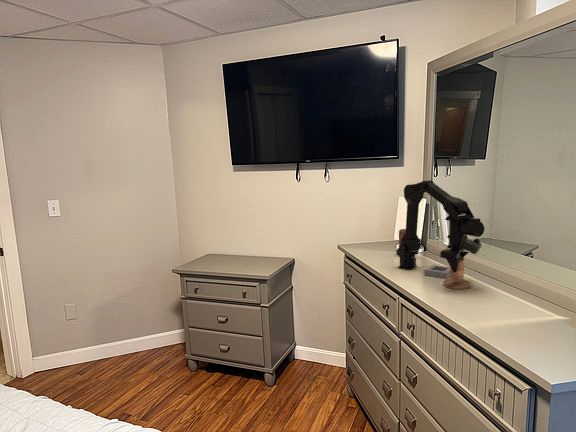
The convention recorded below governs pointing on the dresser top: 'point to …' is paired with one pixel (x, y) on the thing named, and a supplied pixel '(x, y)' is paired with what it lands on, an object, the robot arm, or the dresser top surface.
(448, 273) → the collar
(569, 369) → the dresser top surface
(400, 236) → the can
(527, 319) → the dresser top surface
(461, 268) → the block
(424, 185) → the robot arm
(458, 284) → the pad
